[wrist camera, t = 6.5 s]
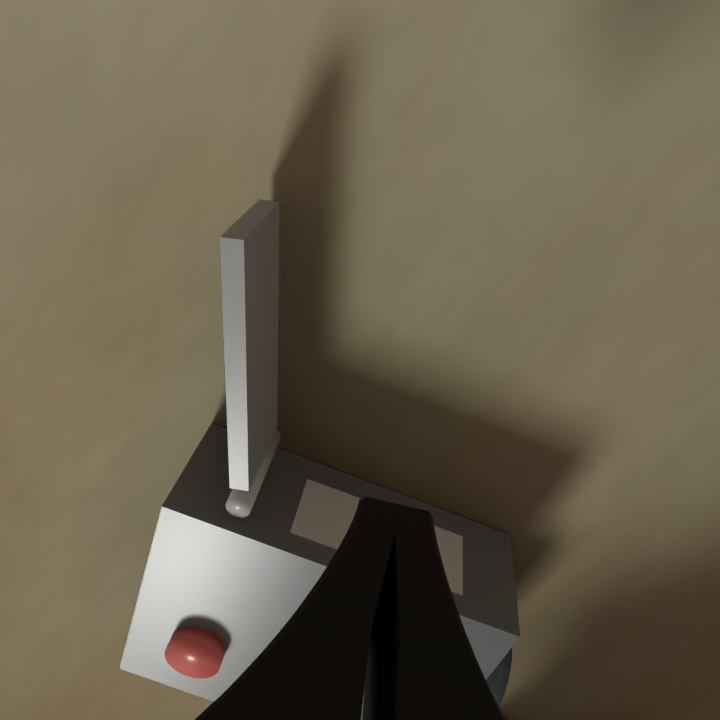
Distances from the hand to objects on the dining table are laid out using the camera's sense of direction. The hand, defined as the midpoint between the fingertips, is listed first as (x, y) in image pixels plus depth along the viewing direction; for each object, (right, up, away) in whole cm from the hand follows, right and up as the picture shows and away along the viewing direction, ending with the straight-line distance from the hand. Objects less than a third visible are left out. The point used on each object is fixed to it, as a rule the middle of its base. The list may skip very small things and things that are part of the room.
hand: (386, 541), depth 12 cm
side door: (-3, +4, +8) cm, 10 cm away
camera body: (-2, -5, +14) cm, 15 cm away
